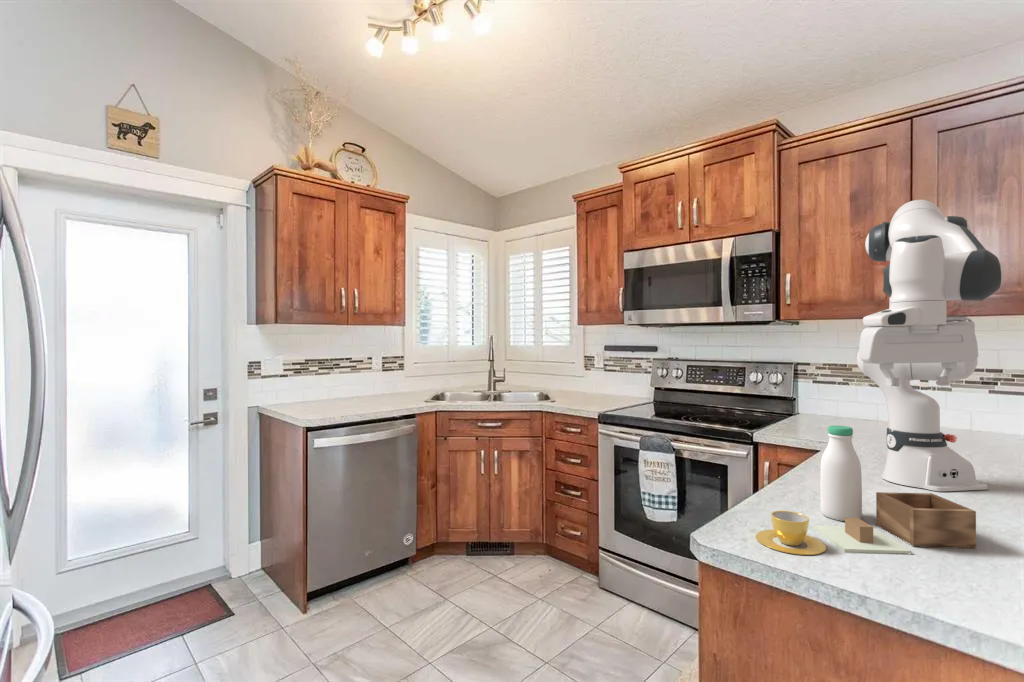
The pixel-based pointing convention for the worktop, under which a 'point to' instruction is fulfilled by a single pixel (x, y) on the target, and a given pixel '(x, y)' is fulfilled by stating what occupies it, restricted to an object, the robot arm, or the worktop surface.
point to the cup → (790, 534)
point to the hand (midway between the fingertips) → (917, 385)
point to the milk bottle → (840, 476)
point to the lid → (860, 538)
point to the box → (926, 519)
